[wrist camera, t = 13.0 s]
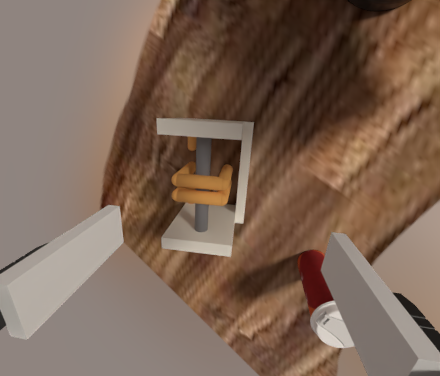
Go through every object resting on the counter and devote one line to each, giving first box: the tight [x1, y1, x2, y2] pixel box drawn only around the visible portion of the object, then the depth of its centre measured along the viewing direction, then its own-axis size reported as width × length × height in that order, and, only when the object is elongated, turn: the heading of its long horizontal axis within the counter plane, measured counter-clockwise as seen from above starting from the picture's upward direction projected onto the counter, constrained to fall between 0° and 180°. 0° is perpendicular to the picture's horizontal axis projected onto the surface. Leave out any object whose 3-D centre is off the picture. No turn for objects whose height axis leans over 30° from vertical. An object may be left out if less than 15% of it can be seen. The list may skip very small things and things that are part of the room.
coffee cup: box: [298, 250, 355, 348], centre depth 37 cm, size 8×8×15 cm
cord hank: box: [171, 162, 233, 206], centre depth 31 cm, size 8×4×9 cm, turn 87°
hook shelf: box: [157, 118, 254, 257], centre depth 33 cm, size 18×12×14 cm, turn 177°
